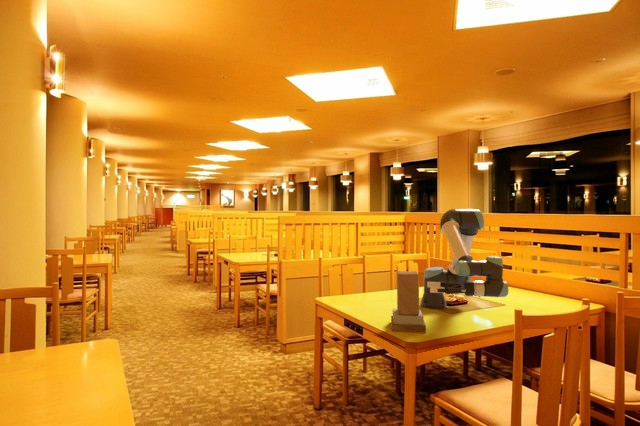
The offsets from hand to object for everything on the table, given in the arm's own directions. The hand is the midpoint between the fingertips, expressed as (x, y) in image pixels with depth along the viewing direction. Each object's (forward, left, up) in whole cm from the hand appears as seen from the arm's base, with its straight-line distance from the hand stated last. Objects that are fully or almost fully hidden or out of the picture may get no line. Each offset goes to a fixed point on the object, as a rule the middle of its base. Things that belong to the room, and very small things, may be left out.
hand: (428, 287), depth 201 cm
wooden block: (+1, -10, -13) cm, 17 cm away
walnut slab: (0, -10, -21) cm, 23 cm away
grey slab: (0, -10, -17) cm, 20 cm away
